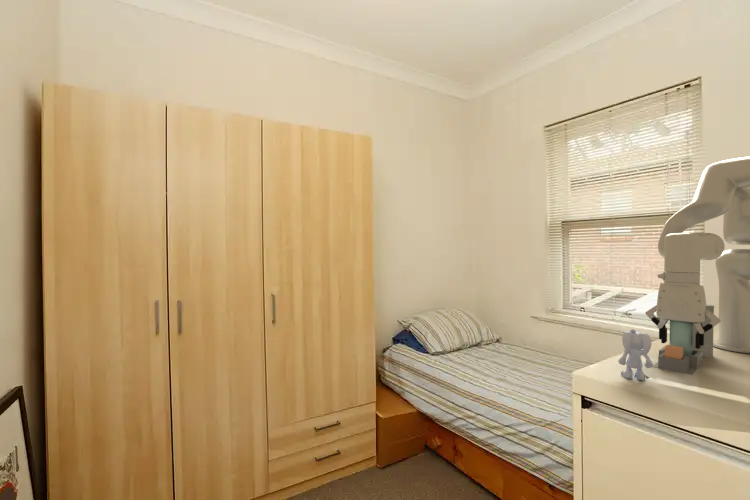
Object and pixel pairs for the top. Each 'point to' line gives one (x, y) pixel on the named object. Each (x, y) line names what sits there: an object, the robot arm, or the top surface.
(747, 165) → the robot arm
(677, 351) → the plunger
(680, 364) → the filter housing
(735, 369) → the top surface
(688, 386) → the top surface
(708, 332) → the skincare box
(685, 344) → the cartridge
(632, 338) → the toy figurine
